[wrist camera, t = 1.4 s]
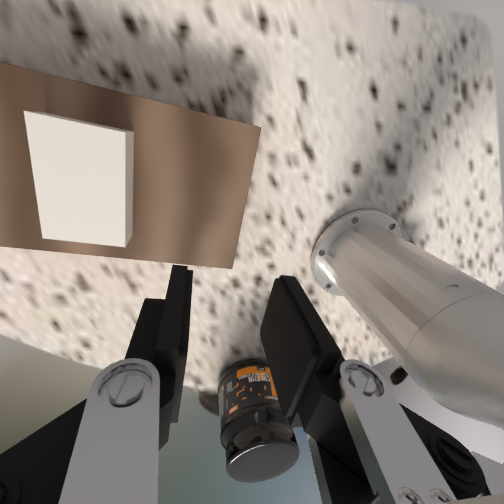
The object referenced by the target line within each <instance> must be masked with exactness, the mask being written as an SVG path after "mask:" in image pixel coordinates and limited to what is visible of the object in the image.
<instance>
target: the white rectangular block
mask: <svg viewBox="0 0 504 504" xmlns="http://www.w3.org/2000/svg"><path fill="white" fill-rule="evenodd" d="M24 116H25V123H26V130H27V137H28V143H29V150H30V157H31V164H32V170H33V177H34V184H35V191H36V197H37V204H38V211H39V218H40V225H41V231H42V238H44V239H53V240H62V241H72V242H81V243H90V244H99V245H109V246H118V247H126V245H127V244H128V242H129V240H130V239H131V237H132V232H133V165H134V132H132V131H128V130H123V129H119V128H114V127H109V126H105V125H100V124H95V123H91V122H86V121H82V120H77V119H72V118H68V117H63V116H59V115H54V114H49V113H44V112H32V111H24Z"/></svg>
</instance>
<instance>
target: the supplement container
mask: <svg viewBox="0 0 504 504" xmlns="http://www.w3.org/2000/svg"><path fill="white" fill-rule="evenodd" d="M218 396H219V412H220V428H221V431H220V442H221V445H222V447H223V448H224V450H225V459H226V460H225V461H226V471H227V473H228V475H229V476H230V477H231V478H232V479H234V480H236V481H239V482H248V483H249V482H260V481H265V480H268V479H272V478H274V477H276V476H279V475H281V474H283V473H284V472H286V471H287V470H289V469H290V468H291V467H292V466H293V465H294V464H295V463H296V462H297V460H298V458H299V455H300V449H299V446H298V442H297V439H296V435H295V434H294V430H295V427H290V425H289V422H288V418H287V417H284V416H283V414H282V412H281V409H280V405H279V401H278V398H277V394H276V390H275V387H274V383H273V380H272V376H271V372H270V369H269V365H268V362H267V361H263V360H246V361H242V362H239V363H237V364H235V365H233V366H231V367H230V368H229V369H227V370H226V371H225V372H224V373H223V375H222V376H221V378H220V380H219V383H218Z"/></svg>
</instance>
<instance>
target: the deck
mask: <svg viewBox="0 0 504 504" xmlns="http://www.w3.org/2000/svg"><path fill="white" fill-rule="evenodd" d="M24 111H32V112H44V113H49V114H54V115H59V116H63V117H68V118H72V119H77V120H82V121H86V122H91V123H95V124H100V125H105V126H109V127H114V128H119V129H123V130H128V131H132V132H134V165H133V232H132V237H131V239H130V240H129V242H128V244H127V245H126V247H118V246H109V245H99V244H90V243H81V242H72V241H62V240H53V239H44V238H42V231H41V225H40V218H39V211H38V204H37V197H36V191H35V184H34V177H33V170H32V164H31V157H30V150H29V143H28V137H27V130H26V123H25V116H24ZM260 132H261V127H258V126H254V125H250V124H246V123H242V122H238V121H234V120H230V119H226V118H222V117H218V116H214V115H210V114H206V113H202V112H198V111H194V110H190V109H186V108H182V107H178V106H174V105H170V104H166V103H162V102H158V101H154V100H150V99H146V98H142V97H138V96H134V95H130V94H126V93H122V92H118V91H114V90H110V89H106V88H102V87H98V86H94V85H90V84H86V83H82V82H78V81H74V80H70V79H66V78H62V77H58V76H54V75H50V74H46V73H42V72H38V71H34V70H30V69H26V68H22V67H18V66H14V65H10V64H6V63H2V62H0V246H2V247H13V248H23V249H33V250H43V251H54V252H64V253H74V254H84V255H94V256H105V257H115V258H125V259H135V260H146V261H156V262H166V263H176V264H186V265H197V266H207V267H217V268H227V269H232V267H233V263H234V258H235V253H236V248H237V243H238V238H239V234H240V229H241V224H242V219H243V214H244V209H245V205H246V200H247V195H248V190H249V185H250V180H251V176H252V171H253V166H254V161H255V156H256V152H257V147H258V142H259V137H260Z"/></svg>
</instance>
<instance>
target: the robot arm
mask: <svg viewBox="0 0 504 504" xmlns="http://www.w3.org/2000/svg"><path fill="white" fill-rule="evenodd" d="M187 268H188V266H181V265H173V266H172V271H171V275H170V280H169V285H168V289H167V294H166V299H151V298H145V300H144V302H143V305H142V308H141V311H140V314H139V317H138V320H137V323H136V326H135V329H134V332H133V335H132V338H131V341H130V344H129V347H128V350H127V353H126V356H125V359H124V360H120V361H117V362H115V363H113V364H110V365H109V366H108V367H106V368H105V369H103V370H102V371H101V372H100V373H99V374H98V376H97V377H96V378H95V379H94V382H93V383H92V385H91V388H90V391H89V395H88V398H87V399H85V400H84V401H82V402H81V403H79V404H77V405H76V406H74V407H73V408H71V409H70V410H68V411H67V412H65V413H64V414H62V415H60V416H59V417H57V418H56V419H54V420H53V421H51V422H50V423H48V424H47V425H45V426H44V427H42V428H40V429H39V430H37V431H36V432H34V433H33V434H31V435H30V436H28V437H27V438H25V439H24V440H22V441H21V442H19V443H17V444H16V445H14V446H13V447H11V448H10V449H8V450H7V451H5V452H3V453H2V454H0V504H157V503H158V451H159V450H160V449H161V448H162V447H163V446H164V445H165V444H166V443H167V442H168V436H169V428H170V423H177V422H178V415H179V408H180V401H181V394H182V388H183V381H184V374H185V367H186V360H187V352H188V341H189V326H190V310H191V295H192V279H193V270H187ZM311 268H312V272H313V275H314V277H315V279H316V281H317V282H318V283H319V285H320V286H321V287H322V288H323V289H324V290H325V291H327V292H329V293H331V294H334V295H338V296H344V297H345V298H346V299H347V301H348V302H349V303H350V304H351V305H352V307H353V308H354V309H355V310H356V311H357V313H358V314H359V315H360V316H361V317H362V319H363V320H364V321H365V322H366V324H367V325H368V326H369V327H370V328H371V330H372V331H373V332H374V333H375V334H376V336H377V337H378V338H379V339H380V340H381V342H382V343H383V344H384V345H385V346H386V348H387V349H388V350H389V351H390V352H391V354H392V355H393V356H394V357H395V358H396V360H397V361H398V362H399V363H400V364H401V366H402V367H403V368H404V369H405V370H406V372H407V373H408V374H409V375H410V376H411V377H412V378H413V380H414V381H415V382H416V383H417V384H418V386H419V387H420V388H421V389H422V390H423V391H424V392H425V393H426V394H427V395H428V396H429V397H431V398H432V399H433V400H434V401H436V402H437V403H439V404H440V405H442V406H443V407H445V408H447V409H449V410H451V411H453V412H455V413H458V414H460V415H462V416H465V417H468V418H471V419H474V420H477V421H481V422H484V423H487V424H491V425H494V426H496V427H499V428H501V429H504V295H503V294H501V293H499V292H497V291H496V290H494V289H492V288H490V287H489V286H487V285H485V284H483V283H481V282H480V281H478V280H476V279H474V278H473V277H471V276H469V275H467V274H465V273H464V272H462V271H460V270H458V269H457V268H455V267H453V266H451V265H449V264H448V263H446V262H444V261H442V260H440V259H439V258H437V257H435V256H433V255H432V254H430V253H428V252H426V251H424V250H423V249H421V248H419V247H417V246H416V245H414V244H412V243H410V242H408V241H407V240H405V239H403V235H402V231H401V228H400V226H399V225H398V223H397V222H396V221H395V220H394V219H393V218H392V217H390V216H389V215H387V214H385V213H383V212H380V211H377V210H372V209H363V210H358V211H353V212H351V213H348V214H346V215H343V216H342V217H340V218H339V219H337V220H335V221H334V222H333V223H332V224H331V225H330V226H328V227H327V228H326V230H325V231H324V232H323V233H322V234H321V236H320V237H319V239H318V241H317V242H316V245H315V247H314V250H313V253H312V258H311ZM260 336H261V340H262V343H263V347H264V351H265V354H266V358H267V362H268V365H269V369H270V372H271V376H272V380H273V383H274V387H275V390H276V394H277V398H278V401H279V405H280V409H281V412H282V414H283V416H284V417H287V418H288V422H289V425H290V427H303V429H304V431H305V432H306V433H307V436H308V443H309V448H310V452H311V456H312V461H313V465H314V469H315V474H316V478H317V482H318V487H319V491H320V495H321V500H322V504H504V463H503V464H500V463H498V462H495V461H494V460H491V459H489V458H487V457H484V456H482V455H480V454H478V453H475V452H473V451H472V452H471V453H470V452H469V450H468V449H466V447H464V446H463V445H462V444H461V443H460V442H459V441H458V440H456V439H455V438H454V437H452V436H451V435H450V434H448V433H446V432H445V431H443V430H442V429H440V428H438V427H437V426H435V425H434V424H432V423H430V422H429V421H427V420H425V419H424V418H422V417H421V416H419V415H417V414H416V413H414V412H413V411H411V410H409V409H408V408H406V407H405V406H403V405H401V404H400V403H398V401H397V399H396V398H395V396H394V394H393V393H392V391H391V389H390V388H389V386H388V384H387V383H386V381H385V380H384V379H383V377H382V376H381V375H380V374H379V373H378V372H377V371H376V370H375V369H374V368H372V367H371V366H369V365H368V364H366V363H364V362H361V361H358V360H346V361H345V359H344V358H343V356H342V354H341V353H342V352H341V351H340V349H339V347H338V346H337V344H336V343H335V341H334V339H333V338H332V336H331V334H330V333H329V331H328V329H327V328H326V326H325V325H324V323H323V321H322V320H321V318H320V316H319V315H318V313H317V312H316V310H315V308H314V307H313V305H312V303H311V302H310V300H309V299H308V297H307V295H306V294H305V292H304V290H303V289H302V287H301V286H300V284H299V282H298V281H297V279H296V278H295V277H294V276H285V275H281V276H280V277H279V278H276V279H275V281H274V284H273V288H272V291H271V295H270V298H269V301H268V305H267V308H266V311H265V315H264V318H263V322H262V325H261V329H260Z"/></svg>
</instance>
